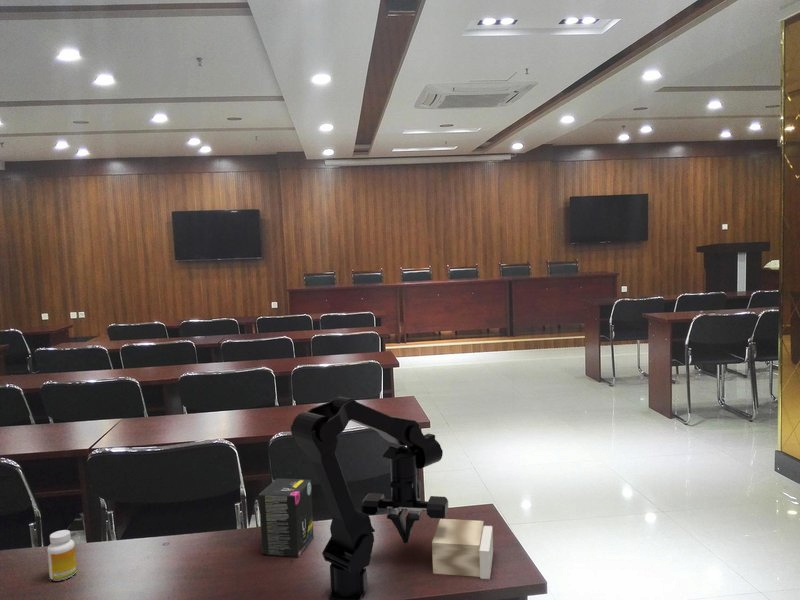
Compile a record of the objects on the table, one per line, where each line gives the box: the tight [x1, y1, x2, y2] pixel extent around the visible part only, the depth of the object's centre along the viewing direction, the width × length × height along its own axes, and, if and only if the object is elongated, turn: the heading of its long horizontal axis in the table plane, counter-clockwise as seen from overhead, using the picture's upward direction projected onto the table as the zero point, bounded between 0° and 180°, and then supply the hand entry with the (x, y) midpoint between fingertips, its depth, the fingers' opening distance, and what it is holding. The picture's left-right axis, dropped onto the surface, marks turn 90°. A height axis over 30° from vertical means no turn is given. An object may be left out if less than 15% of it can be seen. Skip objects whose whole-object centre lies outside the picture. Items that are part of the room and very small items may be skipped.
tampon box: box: [258, 478, 315, 558], centre depth 147 cm, size 11×9×15 cm
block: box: [431, 518, 485, 578], centre depth 137 cm, size 10×12×7 cm
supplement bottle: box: [46, 529, 78, 579], centre depth 137 cm, size 5×5×10 cm
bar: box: [479, 525, 494, 580], centre depth 135 cm, size 2×12×6 cm, turn 168°
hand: (406, 542), depth 138 cm, fingers closed
